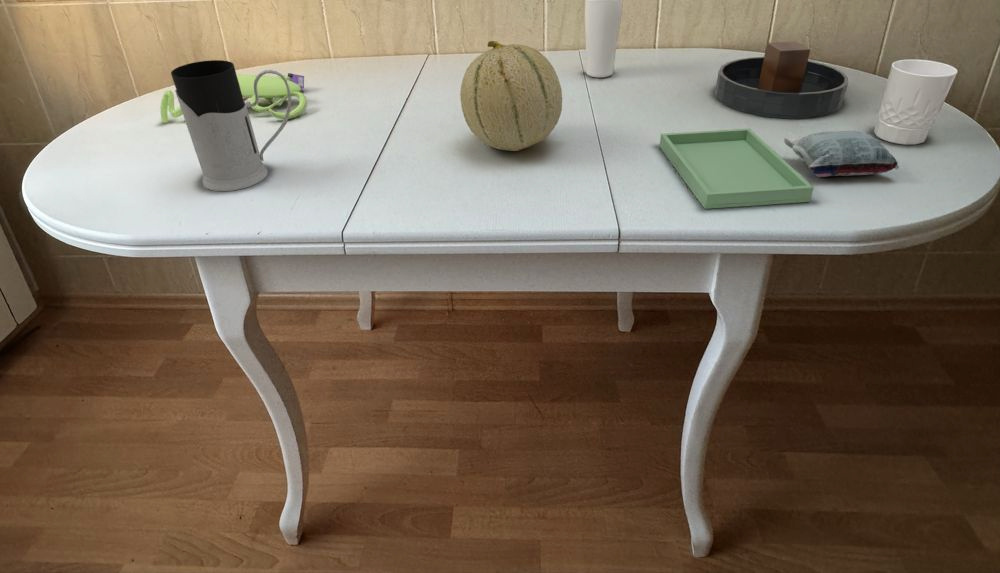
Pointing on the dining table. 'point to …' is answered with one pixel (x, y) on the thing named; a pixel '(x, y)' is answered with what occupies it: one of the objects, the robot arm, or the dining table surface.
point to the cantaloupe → (511, 97)
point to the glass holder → (222, 124)
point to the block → (783, 67)
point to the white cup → (913, 100)
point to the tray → (733, 169)
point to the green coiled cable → (265, 89)
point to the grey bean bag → (842, 153)
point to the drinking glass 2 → (601, 35)
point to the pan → (814, 100)
